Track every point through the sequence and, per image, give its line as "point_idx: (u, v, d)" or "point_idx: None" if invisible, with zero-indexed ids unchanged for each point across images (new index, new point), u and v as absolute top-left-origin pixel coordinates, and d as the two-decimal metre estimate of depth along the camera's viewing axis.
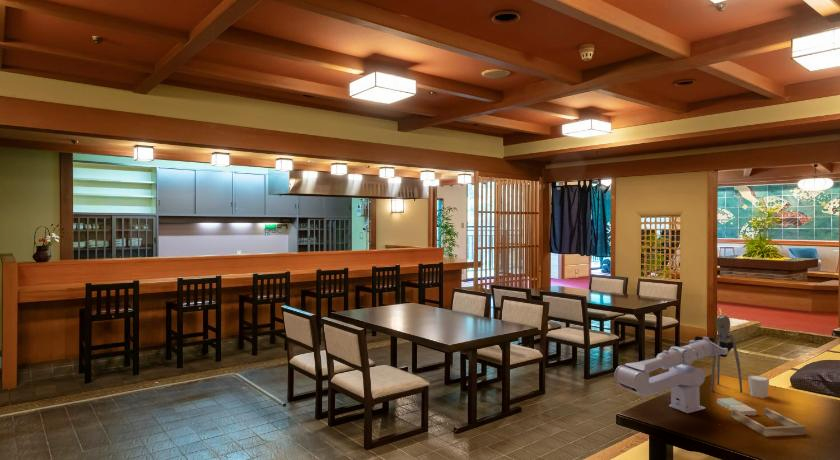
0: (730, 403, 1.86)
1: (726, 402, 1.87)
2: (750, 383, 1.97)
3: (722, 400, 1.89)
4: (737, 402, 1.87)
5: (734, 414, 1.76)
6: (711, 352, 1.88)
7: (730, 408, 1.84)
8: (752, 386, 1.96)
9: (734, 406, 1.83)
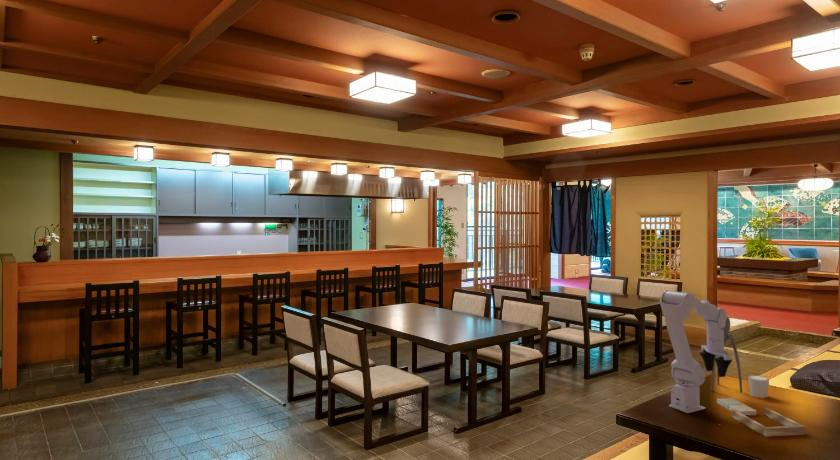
0: (730, 403, 1.86)
1: (726, 402, 1.87)
2: (750, 383, 1.97)
3: (722, 400, 1.89)
4: (737, 402, 1.87)
5: (734, 414, 1.76)
6: (717, 349, 1.93)
7: (730, 408, 1.84)
8: (752, 386, 1.96)
9: (734, 406, 1.83)
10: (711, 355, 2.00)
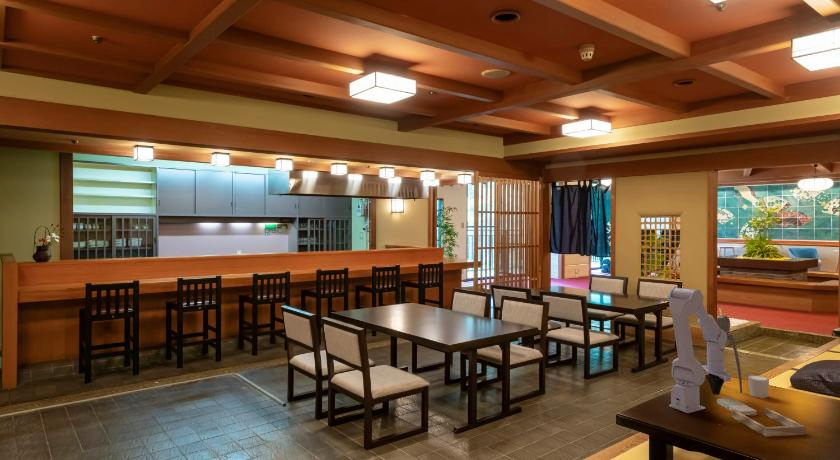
0: (730, 403, 1.86)
1: (726, 402, 1.87)
2: (750, 383, 1.97)
3: (722, 400, 1.89)
4: (737, 402, 1.87)
5: (734, 414, 1.76)
6: (717, 370, 1.93)
7: (730, 408, 1.84)
8: (752, 386, 1.96)
9: (734, 406, 1.83)
10: None
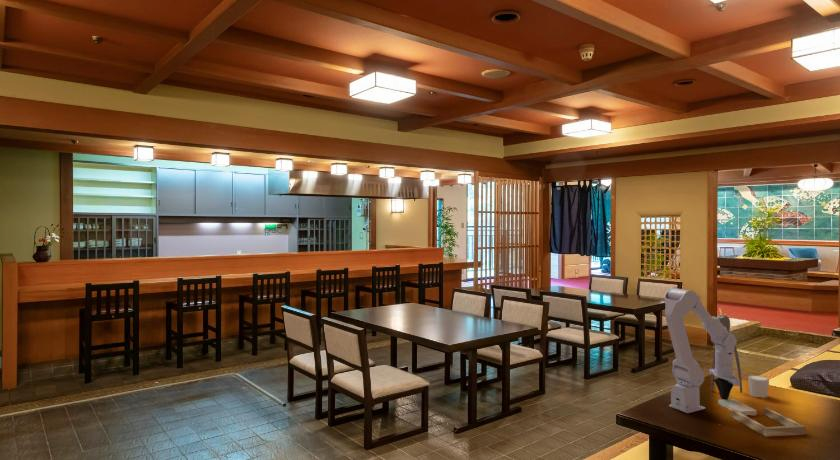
0: (732, 404, 1.86)
1: (727, 403, 1.87)
2: (750, 383, 1.97)
3: (723, 401, 1.89)
4: (738, 403, 1.86)
5: (734, 414, 1.76)
6: (726, 374, 1.88)
7: (730, 408, 1.83)
8: (752, 386, 1.96)
9: (734, 406, 1.83)
10: None
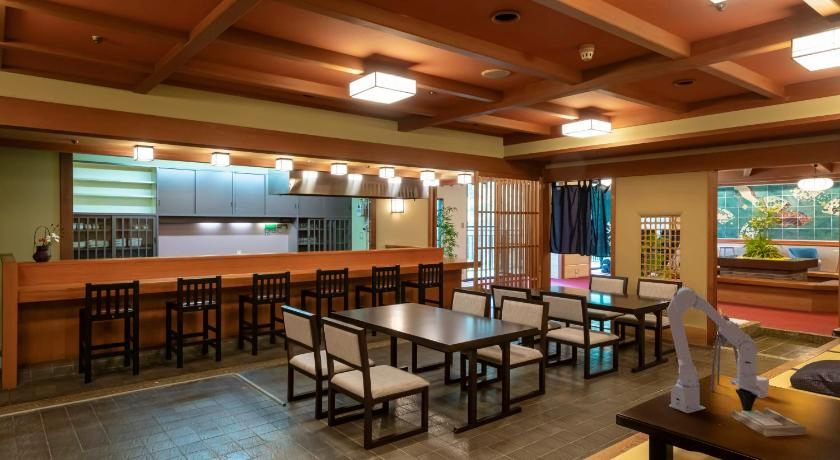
0: (755, 416, 1.74)
1: (751, 415, 1.74)
2: None
3: (746, 413, 1.77)
4: (763, 415, 1.74)
5: (734, 414, 1.76)
6: (749, 385, 1.76)
7: None
8: None
9: (759, 419, 1.71)
10: None
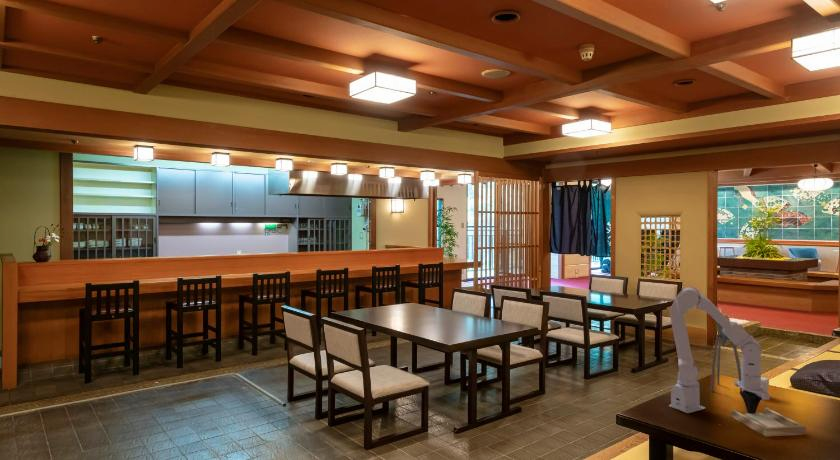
0: (760, 419, 1.72)
1: (755, 418, 1.72)
2: None
3: (750, 415, 1.75)
4: (767, 418, 1.72)
5: (734, 414, 1.76)
6: (753, 387, 1.74)
7: None
8: None
9: (763, 422, 1.69)
10: None
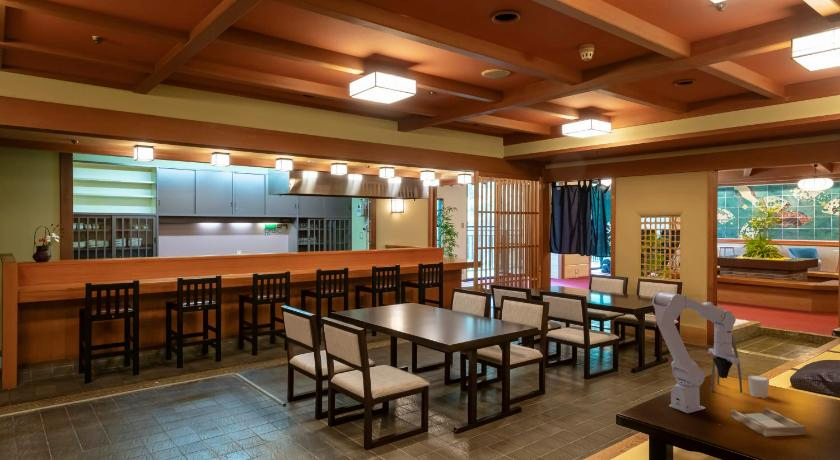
0: (760, 419, 1.72)
1: (755, 418, 1.72)
2: (750, 383, 1.97)
3: (750, 415, 1.74)
4: (767, 418, 1.72)
5: (734, 414, 1.76)
6: (725, 353, 1.88)
7: None
8: (752, 386, 1.96)
9: (763, 422, 1.69)
10: None
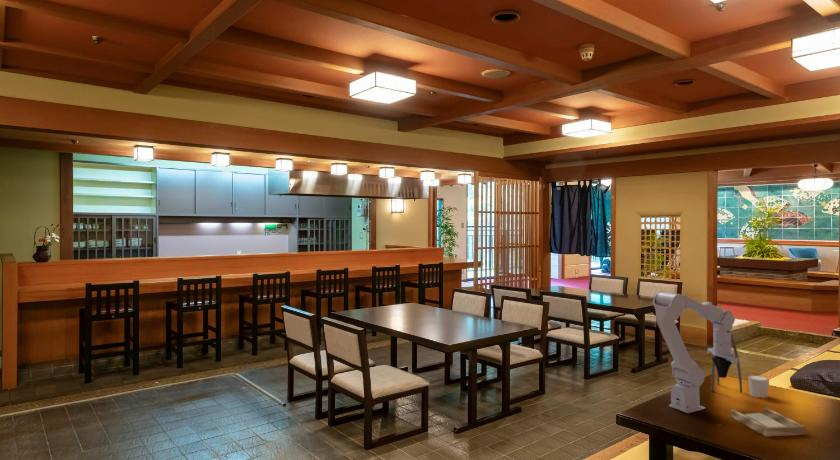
0: (760, 419, 1.72)
1: (755, 418, 1.72)
2: (750, 383, 1.97)
3: (750, 415, 1.74)
4: (767, 418, 1.72)
5: (734, 414, 1.76)
6: (724, 352, 1.89)
7: None
8: (752, 386, 1.96)
9: (763, 422, 1.69)
10: None
